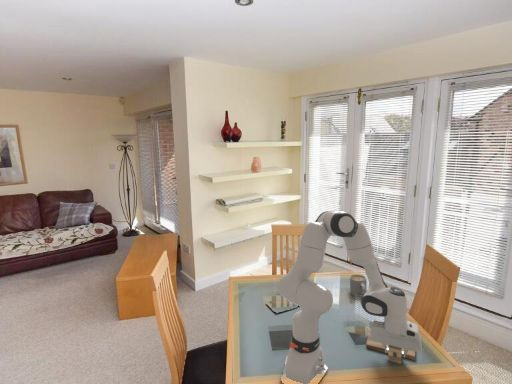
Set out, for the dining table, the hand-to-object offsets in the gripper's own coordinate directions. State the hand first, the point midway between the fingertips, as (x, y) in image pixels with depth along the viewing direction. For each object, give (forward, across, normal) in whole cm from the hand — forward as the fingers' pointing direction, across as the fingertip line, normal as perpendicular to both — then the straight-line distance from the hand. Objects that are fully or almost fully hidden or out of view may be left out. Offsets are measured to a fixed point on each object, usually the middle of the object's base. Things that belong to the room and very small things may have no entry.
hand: (395, 354), depth 126 cm
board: (+3, -2, +8) cm, 9 cm away
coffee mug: (+3, -23, +55) cm, 60 cm away
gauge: (+2, 0, +5) cm, 5 cm away
